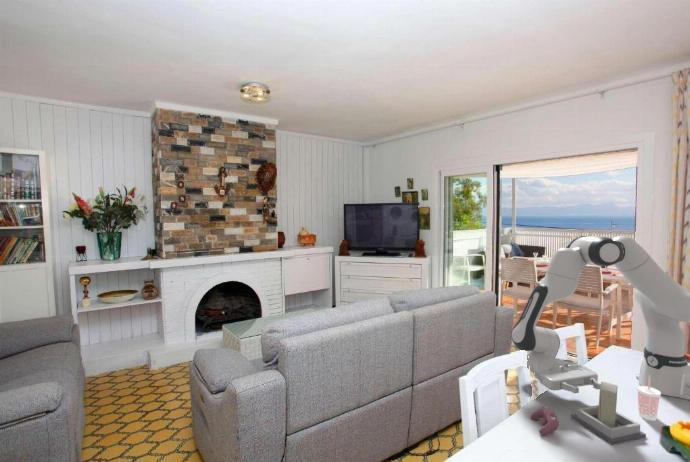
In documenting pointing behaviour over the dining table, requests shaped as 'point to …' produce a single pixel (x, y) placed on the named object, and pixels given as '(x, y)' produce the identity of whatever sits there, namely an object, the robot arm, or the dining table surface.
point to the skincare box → (607, 404)
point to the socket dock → (618, 434)
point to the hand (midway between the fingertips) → (588, 389)
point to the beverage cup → (648, 401)
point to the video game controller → (546, 420)
